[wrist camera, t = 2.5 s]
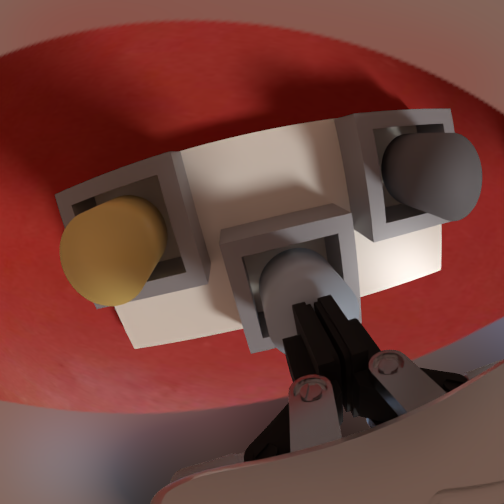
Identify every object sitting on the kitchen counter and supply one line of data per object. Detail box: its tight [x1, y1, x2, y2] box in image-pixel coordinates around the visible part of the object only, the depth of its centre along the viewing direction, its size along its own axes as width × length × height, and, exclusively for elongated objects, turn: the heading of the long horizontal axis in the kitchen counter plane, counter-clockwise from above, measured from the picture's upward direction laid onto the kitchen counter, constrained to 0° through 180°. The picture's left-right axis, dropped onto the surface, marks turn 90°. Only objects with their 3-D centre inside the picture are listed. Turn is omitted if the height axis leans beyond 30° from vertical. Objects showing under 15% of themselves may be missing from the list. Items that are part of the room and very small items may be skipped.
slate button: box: [259, 248, 359, 354], centre depth 14 cm, size 4×4×4 cm
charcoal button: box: [381, 133, 482, 221], centre depth 13 cm, size 4×4×4 cm
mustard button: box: [60, 195, 168, 306], centre depth 13 cm, size 4×4×4 cm
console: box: [55, 109, 455, 353], centre depth 17 cm, size 24×12×5 cm, turn 103°
